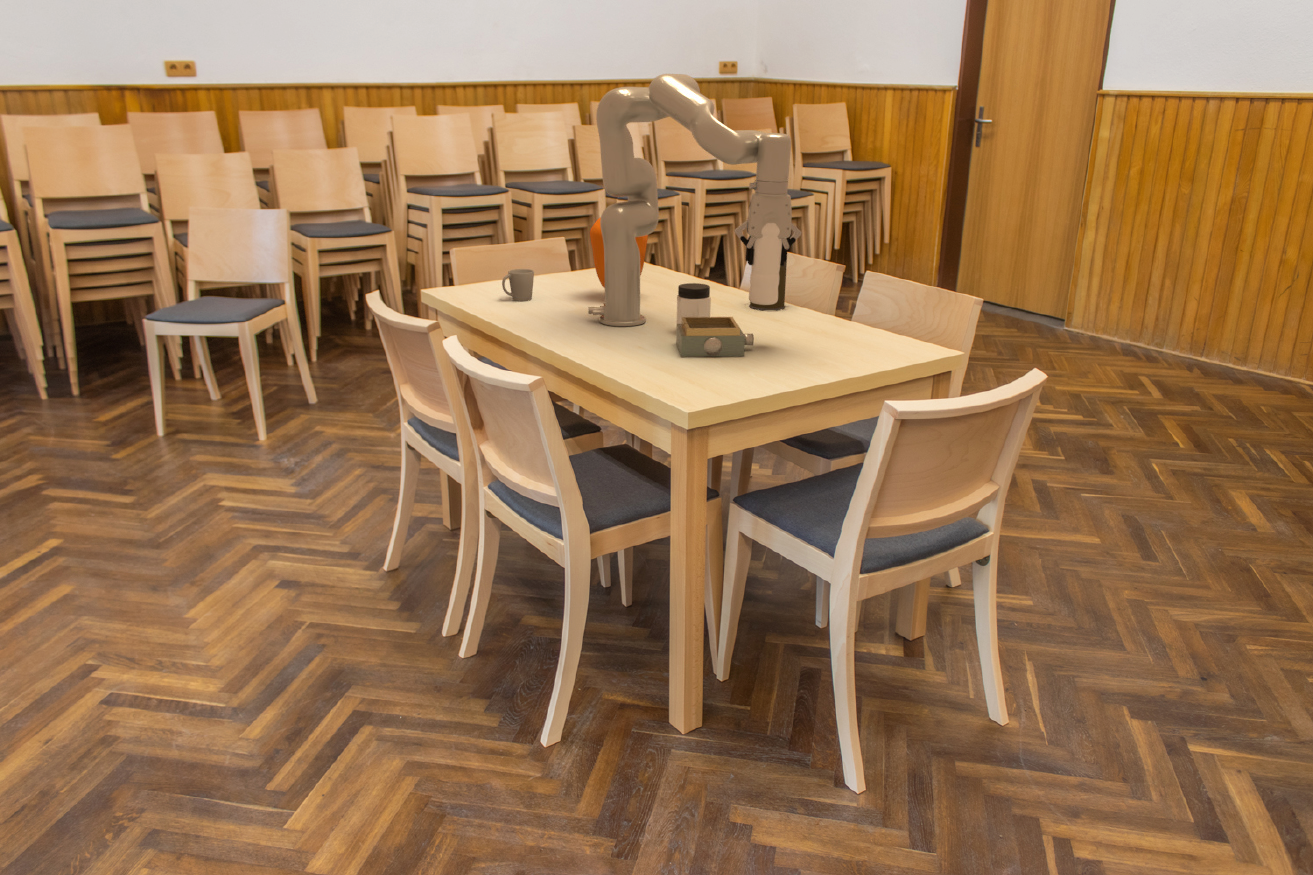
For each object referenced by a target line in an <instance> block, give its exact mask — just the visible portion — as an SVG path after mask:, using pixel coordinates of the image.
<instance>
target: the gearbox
mask: <svg viewBox="0 0 1313 875" xmlns="http://www.w3.org/2000/svg"><path fill="white" fill-rule="evenodd" d="M675 334H676V337H675V338H676V342H675V344H676V347H677V350H678V353H679V355H680V357H681V358H697V357H698V358H701V357H702V358H707V357H709V358H710V357H711V358H715V357H717V358H718V357H719V358H721V357H722V358H723V357H729V358H730V357H732V358H733V357H734V358H735V357H745V346H754V337H755V336H754V333H744V332H743V330H742V329H741V327H740V326H739V325H738V323H737V321H736V320H735V319H734V317H733V316H710V317H682V324H677V323H676V333H675Z"/></svg>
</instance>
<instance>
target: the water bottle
mask: <svg viewBox="0 0 1313 875" xmlns="http://www.w3.org/2000/svg"><path fill="white" fill-rule="evenodd" d="M761 232H762V235H763V237H762V238H756V240H755V242H754V244H753V245H752V246H753V249H754V253H753V265H750V266H751V271H752V272H750V277H749V283H750V284H749V292H748V300H749V303H750V302H752V303H754V304H760V305H772V304H775V303H776V302H777V301H778V285H779V270H780V263H781V252H782V239H779V238H778V237H777V236H778V235H779V233H780V230H779V228H778V227H777V225H776V224H775V223H767V224H765V225H764V227H763V228H762V231H761Z"/></svg>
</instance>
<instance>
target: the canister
mask: <svg viewBox="0 0 1313 875" xmlns="http://www.w3.org/2000/svg"><path fill="white" fill-rule="evenodd" d="M788 250H789V249H787V251H788ZM787 263H788V259H787V260H786V262H784V266H781V265H780V270H779V285H778V301H777V302H776V303H775V304H772V305H760V304H754V303H752V302H750V301H749V303H750V304H749V308H751V309H752V310H755V309H759V310H758V311H763V310H776V311H780V310H779V309H782V310H784V309H785V308H786V305H785V304H786V302H785V300H786V284H787ZM751 272H752V270H751ZM751 272H750V273H751Z"/></svg>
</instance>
